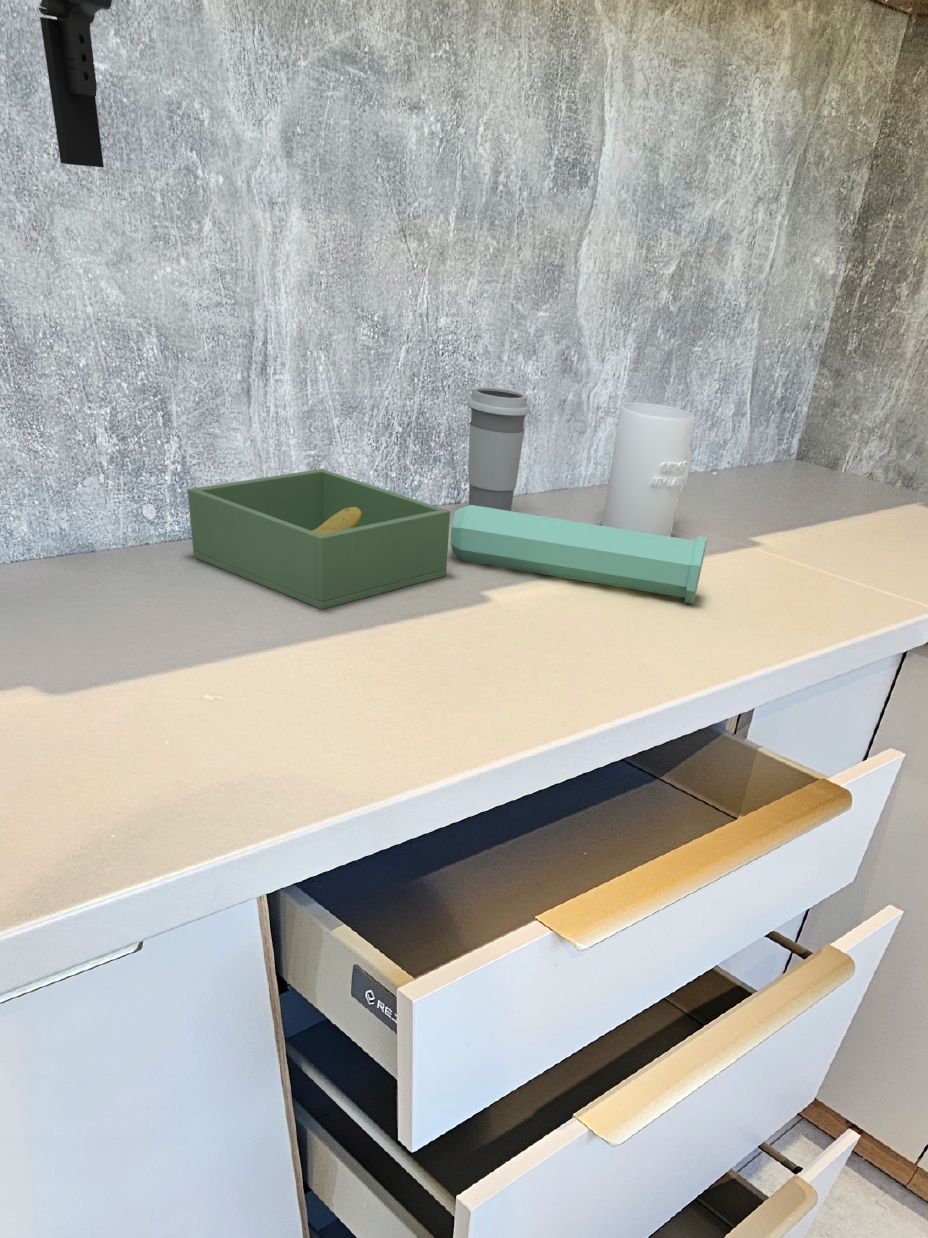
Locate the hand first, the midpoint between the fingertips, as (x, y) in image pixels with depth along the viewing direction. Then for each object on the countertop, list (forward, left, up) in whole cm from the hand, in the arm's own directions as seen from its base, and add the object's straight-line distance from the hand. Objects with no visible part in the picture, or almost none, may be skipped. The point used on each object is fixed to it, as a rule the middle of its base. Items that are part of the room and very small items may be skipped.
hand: (20, 154), depth 68 cm
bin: (+9, +19, -27) cm, 34 cm away
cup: (+7, +47, -27) cm, 55 cm away
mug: (+20, +60, -27) cm, 69 cm away
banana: (+9, +19, -26) cm, 34 cm away
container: (+25, +38, -27) cm, 53 cm away
